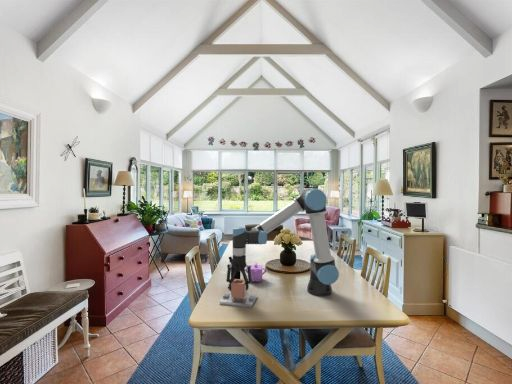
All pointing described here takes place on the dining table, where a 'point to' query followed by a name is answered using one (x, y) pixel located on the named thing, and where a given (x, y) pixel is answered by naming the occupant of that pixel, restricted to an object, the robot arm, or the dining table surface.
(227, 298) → the stand
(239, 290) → the box
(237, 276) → the chess piece
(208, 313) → the dining table surface
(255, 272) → the teapot
